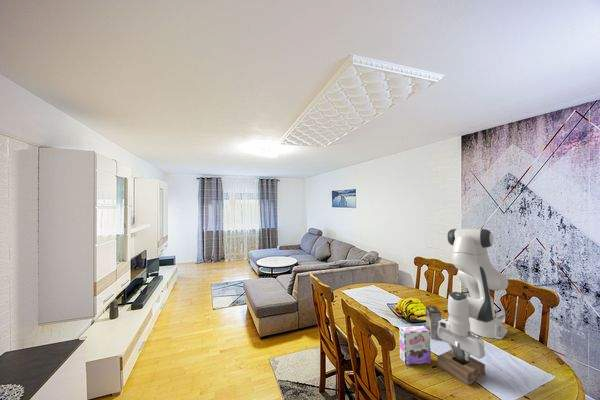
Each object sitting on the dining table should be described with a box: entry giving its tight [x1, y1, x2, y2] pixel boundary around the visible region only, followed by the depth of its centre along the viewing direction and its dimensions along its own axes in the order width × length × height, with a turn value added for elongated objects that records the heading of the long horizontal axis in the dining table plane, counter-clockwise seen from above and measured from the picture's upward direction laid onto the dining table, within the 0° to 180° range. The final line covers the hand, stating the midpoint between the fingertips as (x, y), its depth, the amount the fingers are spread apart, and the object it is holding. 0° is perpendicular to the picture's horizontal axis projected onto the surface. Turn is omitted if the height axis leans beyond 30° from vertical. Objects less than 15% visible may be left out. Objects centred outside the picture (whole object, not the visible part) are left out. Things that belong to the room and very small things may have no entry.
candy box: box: [398, 325, 432, 366], centre depth 121 cm, size 14×6×16 cm, turn 94°
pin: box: [454, 341, 466, 365], centre depth 113 cm, size 4×4×12 cm
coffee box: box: [425, 305, 442, 340], centre depth 144 cm, size 9×6×16 cm
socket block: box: [436, 349, 486, 386], centre depth 113 cm, size 14×14×5 cm
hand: (460, 356), depth 113 cm, fingers closed on pin, 4 cm apart
